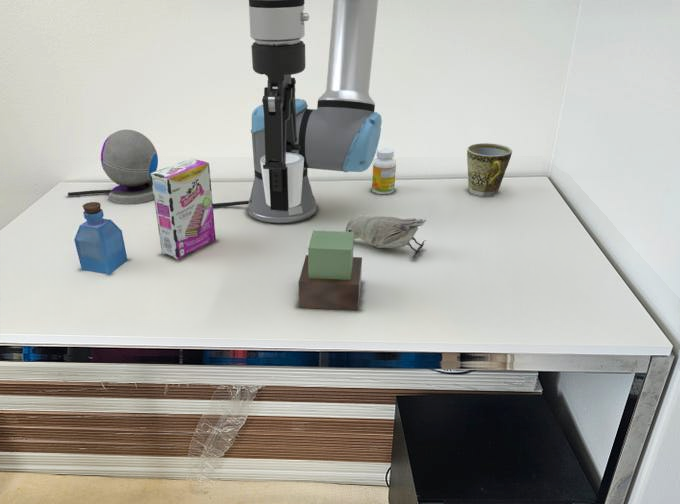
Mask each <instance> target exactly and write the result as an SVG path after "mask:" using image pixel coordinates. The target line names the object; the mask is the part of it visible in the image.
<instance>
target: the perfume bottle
mask: <svg viewBox="0 0 680 504" xmlns="http://www.w3.org/2000/svg"><path fill="white" fill-rule="evenodd" d="M82 208H83V210H84V211H83V212H82V214H83V219H85V220H86V221H84V222H83V223H81V224H80V225H79V227H78V229H77V231H76V234H75V236H74V238H73V239H74V240H73V241H74V244H75V249H76V252H77V257H78V261H79V264H80V265H79V266H80V268H81V271H85V272H93V273H97V274H98V273H99V274H105V275H111V274H113V272H115V271H116V270H117V269H119V268H120V267H121V266H122V265H124V264H125V263H127V261H129V260H128V255H127V250H126V249H127V248H126V245H125V240H124V235H123V230H122V229H121V228H120V227H119V226H118V225H117V224H116V223H115V222H114V221H113V220H112V219H108V218H104V216H105V214H104V210H103V209H102V208H101V203H100V202H98V201H90V202H86V203H84V204H82Z"/></svg>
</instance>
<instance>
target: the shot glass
mask: <svg viewBox="0 0 680 504" xmlns="http://www.w3.org/2000/svg"><path fill="white" fill-rule="evenodd" d="M260 164H261V171H262V178H263V185H264V191H265V198H266V204H267V205H268V206H271V205H270V184H269V169H263V165H265V155H264V156H263V157H261V159H260ZM303 166H304V157H303V156H302V155H299V154H296V153H289V152H286V167H287V171H288V203H289V208H292V207H295V206H298V205H299V204H300V203H301V192H302V179H303Z"/></svg>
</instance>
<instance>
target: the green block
mask: <svg viewBox="0 0 680 504" xmlns="http://www.w3.org/2000/svg"><path fill="white" fill-rule="evenodd" d="M354 243H355V239H354V232H346V231H341V230H340V231H338V230H313V229H312V232H311V236H310V240H309V244H308V247H307V253H308V254H307V255H308V273H309V278H317V279H340V280H351V273H352V265H353V257H354Z"/></svg>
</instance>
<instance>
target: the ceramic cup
mask: <svg viewBox="0 0 680 504" xmlns="http://www.w3.org/2000/svg"><path fill="white" fill-rule="evenodd" d="M512 154H513V150H512V148H510V147H509V146H506V145H503V144H500V143H490V142H489V143H488V142H485V143H484V142H483V143H482V142H481V143H475V144H471V145H469V146H468V147H467V149H466V161H467V186H468V191H469V192H470V193H471V195H474V196H479V197H493V196H495V195H496V194H498V192H499V190H500V188H501V185H502V182H503V179H504V177H505V173H506V170H507V168H508V166H509V163H510V160H511V157H512Z"/></svg>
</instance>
